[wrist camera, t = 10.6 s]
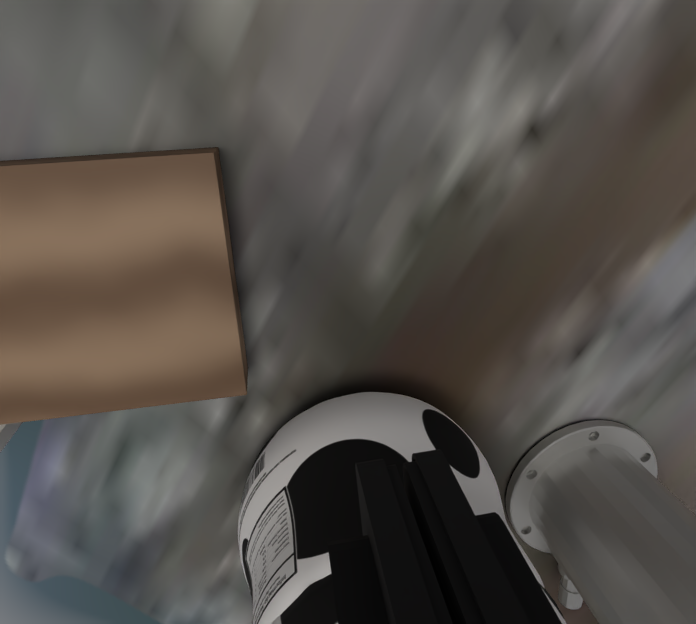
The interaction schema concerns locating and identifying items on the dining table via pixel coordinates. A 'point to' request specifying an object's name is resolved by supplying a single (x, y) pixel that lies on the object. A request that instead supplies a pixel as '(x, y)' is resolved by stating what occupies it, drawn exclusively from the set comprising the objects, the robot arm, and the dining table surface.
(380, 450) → the milk container
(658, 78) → the dining table surface
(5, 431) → the tray
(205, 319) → the brown square slab
